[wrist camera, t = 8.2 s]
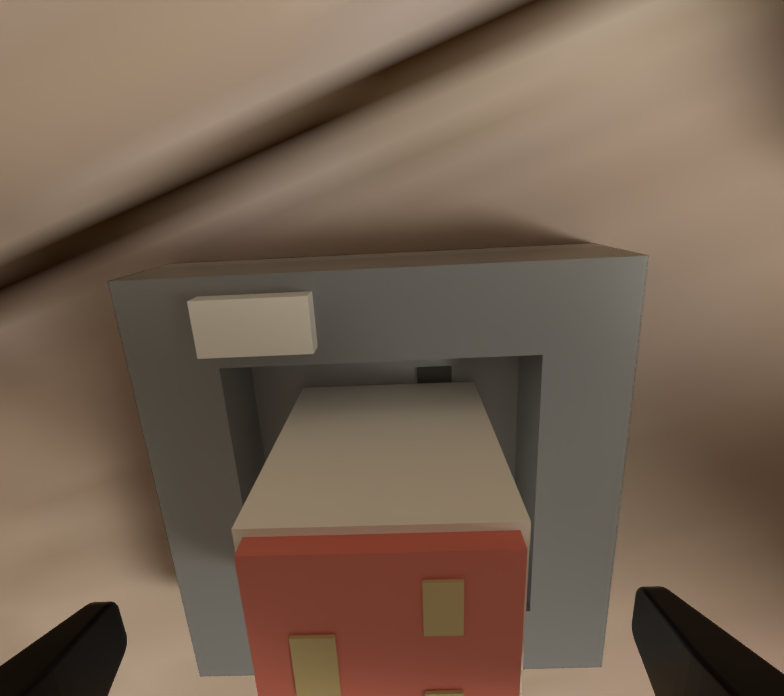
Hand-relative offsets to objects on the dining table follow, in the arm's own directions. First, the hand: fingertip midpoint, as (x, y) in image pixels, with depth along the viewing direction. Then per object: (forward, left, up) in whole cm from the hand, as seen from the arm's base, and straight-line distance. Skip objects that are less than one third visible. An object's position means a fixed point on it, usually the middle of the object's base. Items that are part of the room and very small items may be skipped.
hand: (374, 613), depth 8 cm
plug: (0, 0, -5) cm, 5 cm away
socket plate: (0, 0, -6) cm, 6 cm away
